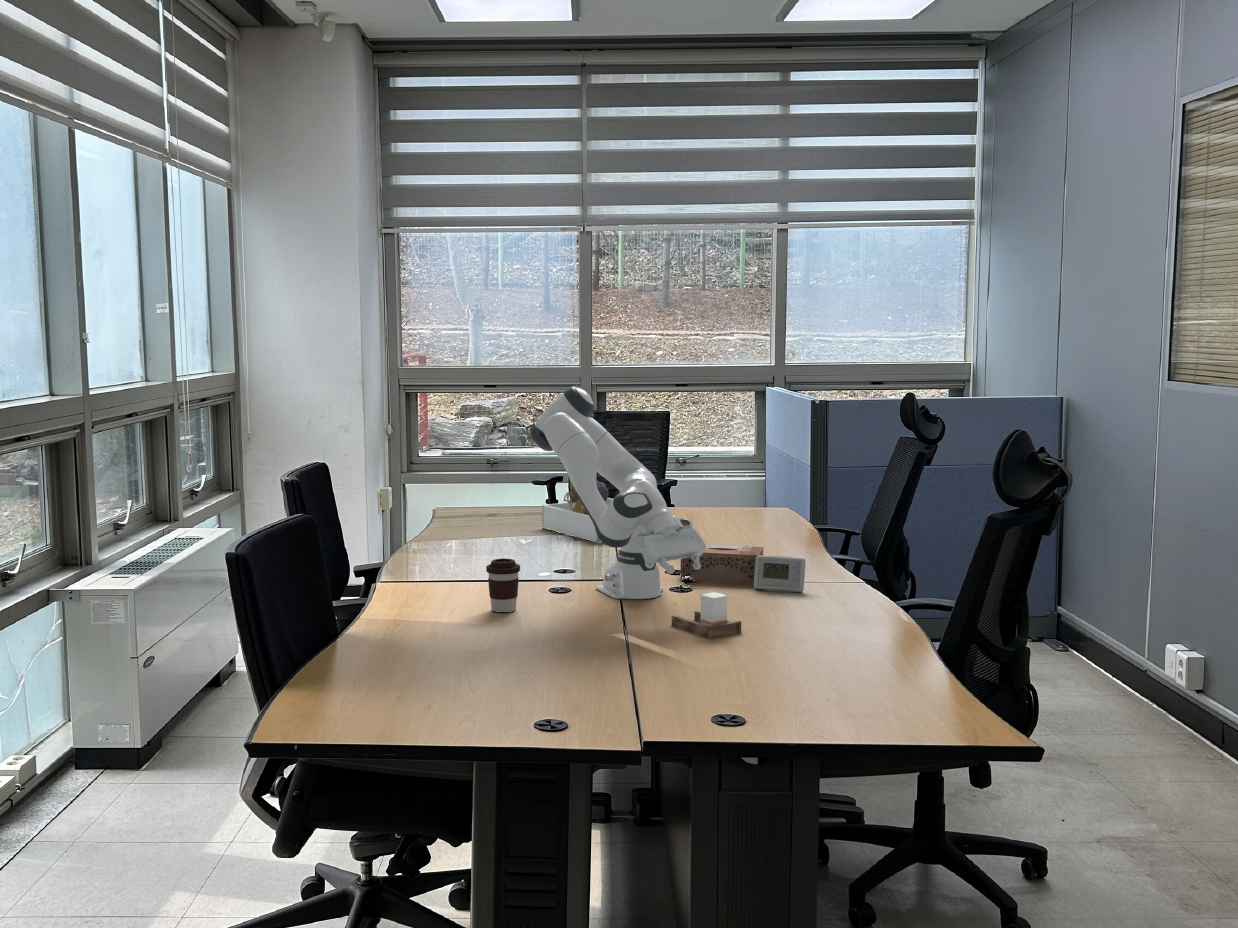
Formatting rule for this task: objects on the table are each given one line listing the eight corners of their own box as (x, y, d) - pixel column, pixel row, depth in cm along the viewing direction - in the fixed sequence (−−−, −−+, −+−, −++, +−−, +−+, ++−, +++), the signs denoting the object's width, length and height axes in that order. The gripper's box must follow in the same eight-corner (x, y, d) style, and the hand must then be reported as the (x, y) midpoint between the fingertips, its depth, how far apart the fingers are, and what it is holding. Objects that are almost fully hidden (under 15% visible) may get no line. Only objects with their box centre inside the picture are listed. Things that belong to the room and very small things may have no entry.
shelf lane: (669, 630, 298) (669, 614, 298) (699, 623, 305) (699, 608, 304) (710, 644, 285) (710, 627, 284) (741, 637, 291) (741, 621, 291)
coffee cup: (515, 615, 314) (514, 564, 312) (482, 613, 316) (481, 563, 314) (524, 607, 324) (524, 557, 322) (493, 605, 326) (492, 556, 324)
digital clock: (750, 589, 346) (751, 557, 345) (761, 584, 354) (762, 552, 353) (798, 595, 338) (799, 562, 337) (809, 589, 346) (809, 557, 345)
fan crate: (542, 528, 454) (542, 505, 453) (608, 520, 474) (608, 497, 473) (597, 543, 422) (597, 518, 421) (665, 533, 442) (665, 509, 441)
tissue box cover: (762, 575, 367) (763, 546, 366) (758, 585, 353) (758, 555, 352) (687, 571, 373) (688, 543, 372) (680, 581, 359) (680, 551, 358)
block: (698, 630, 293) (698, 594, 292) (712, 627, 296) (713, 591, 295) (712, 635, 288) (713, 598, 287) (727, 631, 291) (727, 595, 290)
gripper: (638, 527, 298) (660, 568, 291) (695, 520, 310) (718, 559, 303) (629, 540, 302) (650, 581, 295) (685, 533, 314) (707, 572, 307)
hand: (685, 570), depth 299 cm, fingers open, 8 cm apart
